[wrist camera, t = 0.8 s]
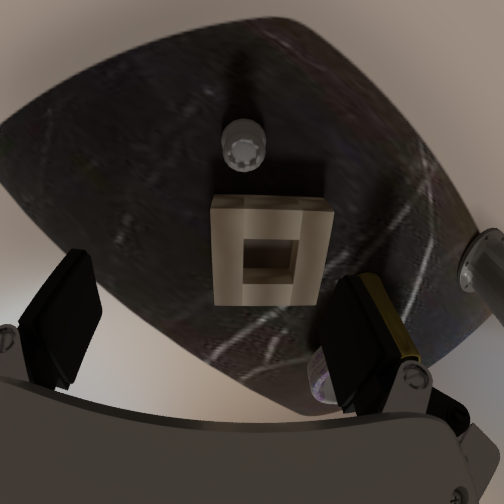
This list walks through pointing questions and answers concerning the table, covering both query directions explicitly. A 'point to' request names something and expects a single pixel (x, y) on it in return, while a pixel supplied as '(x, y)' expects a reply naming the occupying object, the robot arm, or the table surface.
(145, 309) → the table surface
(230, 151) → the rook chess piece
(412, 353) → the vase
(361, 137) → the table surface
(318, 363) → the paper bowls
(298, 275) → the socket block
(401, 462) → the robot arm
